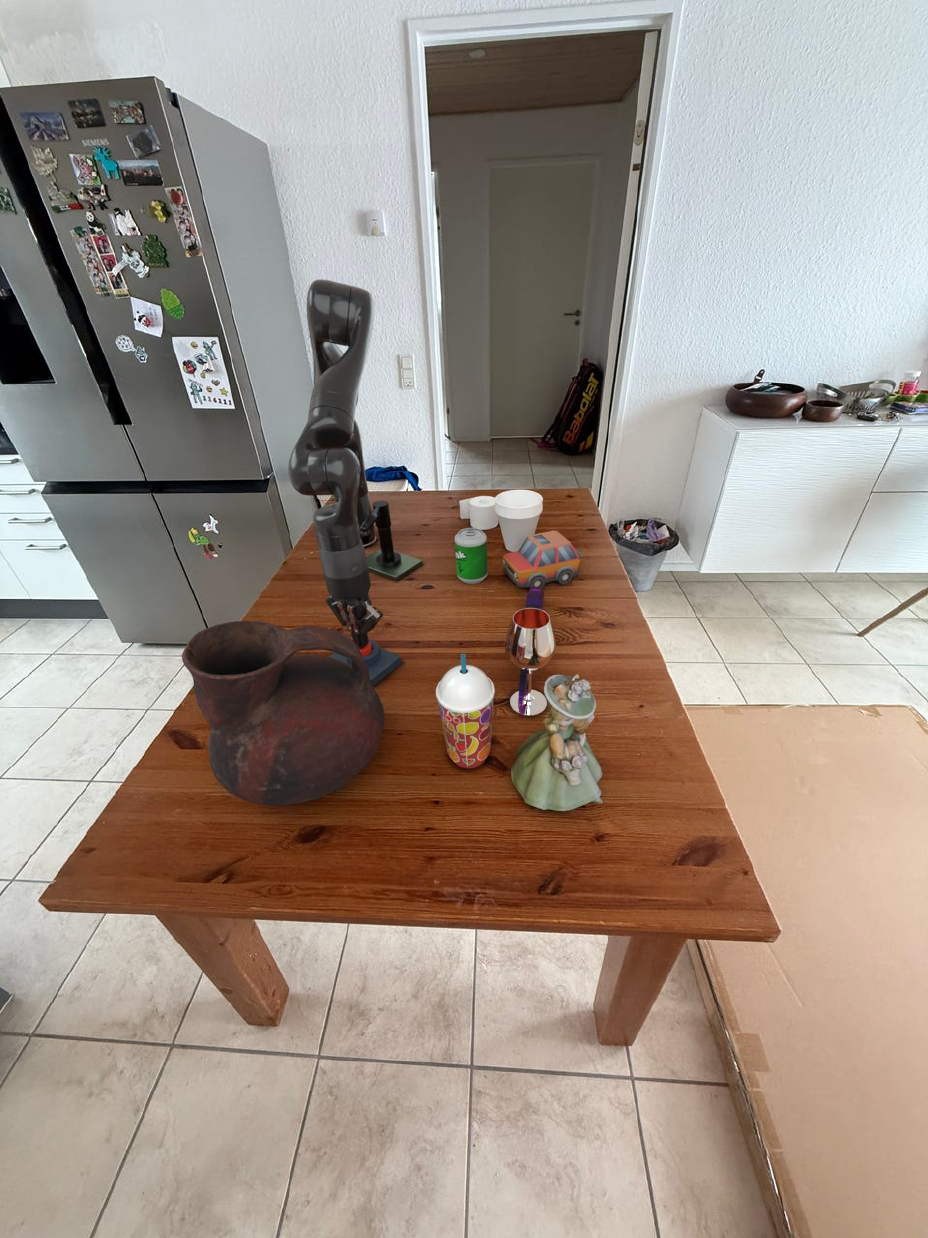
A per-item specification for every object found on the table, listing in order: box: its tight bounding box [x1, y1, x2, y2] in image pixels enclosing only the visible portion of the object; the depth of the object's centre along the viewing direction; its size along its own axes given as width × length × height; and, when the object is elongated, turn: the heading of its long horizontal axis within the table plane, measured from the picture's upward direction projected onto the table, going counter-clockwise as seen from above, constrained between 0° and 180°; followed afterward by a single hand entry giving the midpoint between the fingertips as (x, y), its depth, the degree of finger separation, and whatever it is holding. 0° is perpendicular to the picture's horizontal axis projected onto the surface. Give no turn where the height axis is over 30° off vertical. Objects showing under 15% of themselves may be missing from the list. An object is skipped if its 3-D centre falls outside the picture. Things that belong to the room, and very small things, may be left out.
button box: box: [328, 639, 402, 688], centre depth 99 cm, size 12×8×4 cm, turn 54°
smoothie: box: [435, 653, 496, 769], centre depth 74 cm, size 8×8×20 cm
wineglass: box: [504, 607, 557, 717], centre depth 84 cm, size 8×8×18 cm
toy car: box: [502, 530, 584, 590], centre depth 121 cm, size 12×17×10 cm
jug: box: [181, 620, 385, 807], centre depth 73 cm, size 25×25×25 cm
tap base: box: [366, 526, 423, 582], centre depth 129 cm, size 14×10×11 cm
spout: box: [360, 500, 392, 544], centre depth 119 cm, size 15×4×6 cm, turn 170°
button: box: [360, 642, 372, 657], centre depth 98 cm, size 4×4×2 cm
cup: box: [494, 489, 544, 553], centre depth 133 cm, size 12×12×14 cm
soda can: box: [454, 527, 489, 585], centre depth 121 cm, size 8×8×12 cm
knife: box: [518, 587, 545, 709], centre depth 98 cm, size 37×4×5 cm, turn 169°
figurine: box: [510, 673, 604, 812], centre depth 69 cm, size 14×14×20 cm
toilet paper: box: [458, 495, 499, 531], centre depth 148 cm, size 8×11×7 cm
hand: (361, 645), depth 97 cm, fingers closed
